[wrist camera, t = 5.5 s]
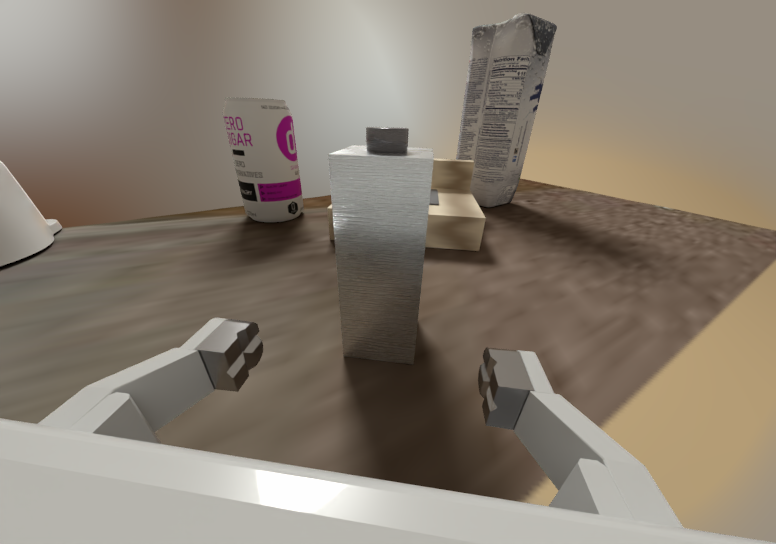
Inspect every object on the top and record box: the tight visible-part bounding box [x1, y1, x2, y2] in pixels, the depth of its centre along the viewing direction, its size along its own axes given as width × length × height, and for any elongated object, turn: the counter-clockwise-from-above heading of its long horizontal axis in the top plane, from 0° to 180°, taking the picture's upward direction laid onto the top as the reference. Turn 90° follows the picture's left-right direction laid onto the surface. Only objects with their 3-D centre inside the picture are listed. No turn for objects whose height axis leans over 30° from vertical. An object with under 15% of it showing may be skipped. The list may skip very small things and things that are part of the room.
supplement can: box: [223, 98, 304, 222], centre depth 39 cm, size 8×8×15 cm
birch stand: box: [327, 159, 486, 251], centre depth 38 cm, size 18×16×8 cm
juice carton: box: [456, 13, 557, 207], centre depth 46 cm, size 9×10×27 cm
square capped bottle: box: [328, 127, 434, 365], centre depth 16 cm, size 4×4×13 cm
